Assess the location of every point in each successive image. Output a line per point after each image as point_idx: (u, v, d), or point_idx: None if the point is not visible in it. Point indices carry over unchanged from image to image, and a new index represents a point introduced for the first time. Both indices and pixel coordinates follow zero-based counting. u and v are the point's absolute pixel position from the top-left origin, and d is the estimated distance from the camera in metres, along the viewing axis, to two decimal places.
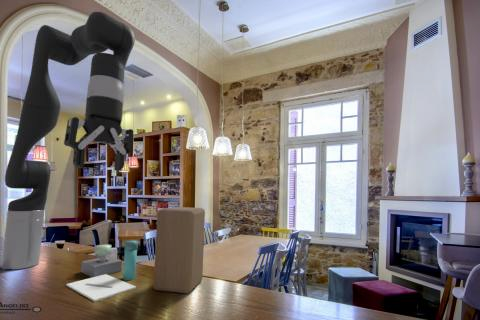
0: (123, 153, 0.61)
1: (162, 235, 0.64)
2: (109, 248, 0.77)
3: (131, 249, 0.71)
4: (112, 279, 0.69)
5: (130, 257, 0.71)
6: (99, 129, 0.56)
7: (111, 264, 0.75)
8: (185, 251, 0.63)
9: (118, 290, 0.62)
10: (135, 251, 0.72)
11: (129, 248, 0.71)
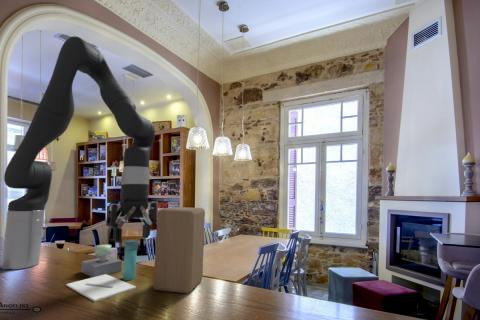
0: (149, 223, 0.76)
1: (162, 235, 0.64)
2: (109, 248, 0.77)
3: (131, 249, 0.71)
4: (112, 279, 0.69)
5: (130, 257, 0.71)
6: (132, 210, 0.71)
7: (111, 264, 0.75)
8: (185, 251, 0.63)
9: (118, 290, 0.62)
10: (135, 251, 0.72)
11: (129, 248, 0.71)
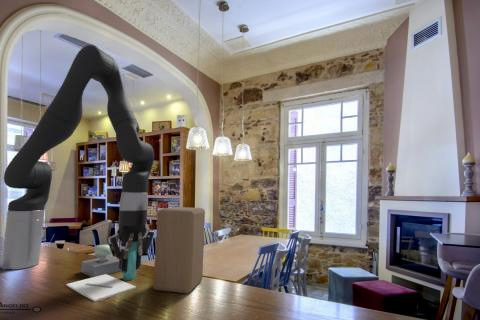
0: (140, 254, 0.74)
1: (162, 235, 0.64)
2: (109, 248, 0.77)
3: (131, 249, 0.71)
4: (112, 279, 0.69)
5: (130, 257, 0.71)
6: (131, 237, 0.71)
7: (111, 264, 0.75)
8: (186, 251, 0.63)
9: (118, 290, 0.62)
10: (135, 251, 0.72)
11: None
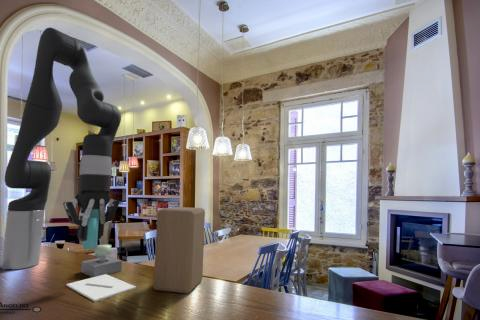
0: (102, 223, 0.68)
1: (162, 235, 0.64)
2: (109, 248, 0.77)
3: (91, 217, 0.66)
4: (112, 279, 0.69)
5: (90, 224, 0.66)
6: (90, 203, 0.65)
7: (111, 264, 0.75)
8: (185, 251, 0.63)
9: (118, 290, 0.62)
10: (96, 219, 0.67)
11: None
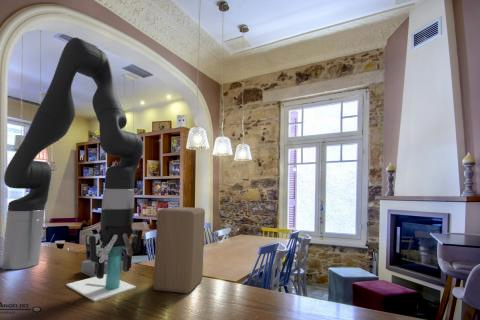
0: (130, 255, 0.67)
1: (162, 235, 0.64)
2: None
3: (115, 255, 0.63)
4: None
5: (114, 263, 0.63)
6: (113, 239, 0.63)
7: None
8: (185, 251, 0.63)
9: (118, 290, 0.62)
10: (119, 257, 0.64)
11: (112, 253, 0.63)
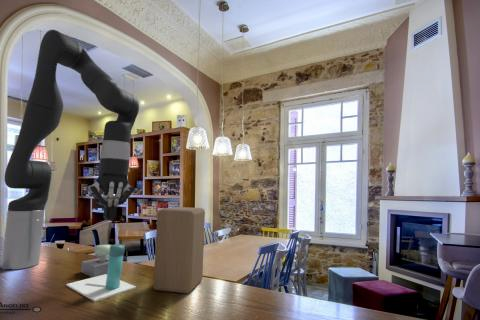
0: (115, 205, 0.71)
1: (162, 235, 0.64)
2: (109, 248, 0.77)
3: (116, 255, 0.63)
4: None
5: (115, 263, 0.63)
6: (111, 185, 0.70)
7: None
8: (185, 251, 0.63)
9: (118, 290, 0.62)
10: (121, 257, 0.64)
11: (114, 254, 0.63)
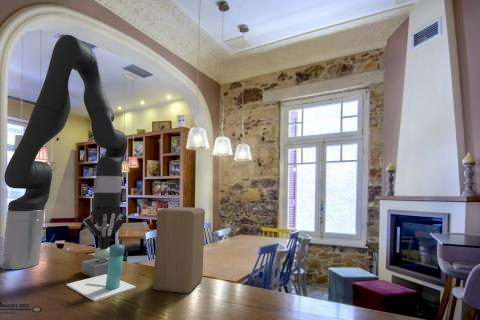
0: (109, 235, 0.78)
1: (162, 235, 0.64)
2: None
3: (116, 255, 0.63)
4: None
5: (115, 263, 0.63)
6: (104, 217, 0.76)
7: None
8: (185, 251, 0.63)
9: (118, 290, 0.62)
10: (121, 257, 0.64)
11: (114, 254, 0.63)
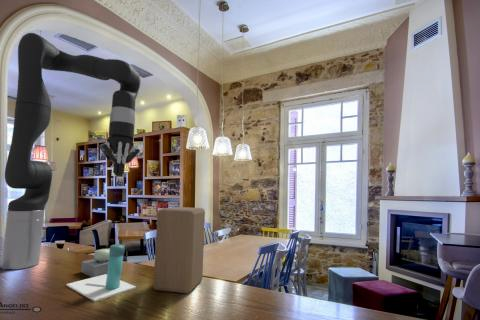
0: (123, 163, 0.83)
1: (162, 235, 0.64)
2: None
3: (116, 255, 0.63)
4: None
5: (115, 263, 0.63)
6: (119, 145, 0.81)
7: None
8: (186, 251, 0.63)
9: (118, 290, 0.62)
10: (121, 257, 0.64)
11: (114, 254, 0.63)
